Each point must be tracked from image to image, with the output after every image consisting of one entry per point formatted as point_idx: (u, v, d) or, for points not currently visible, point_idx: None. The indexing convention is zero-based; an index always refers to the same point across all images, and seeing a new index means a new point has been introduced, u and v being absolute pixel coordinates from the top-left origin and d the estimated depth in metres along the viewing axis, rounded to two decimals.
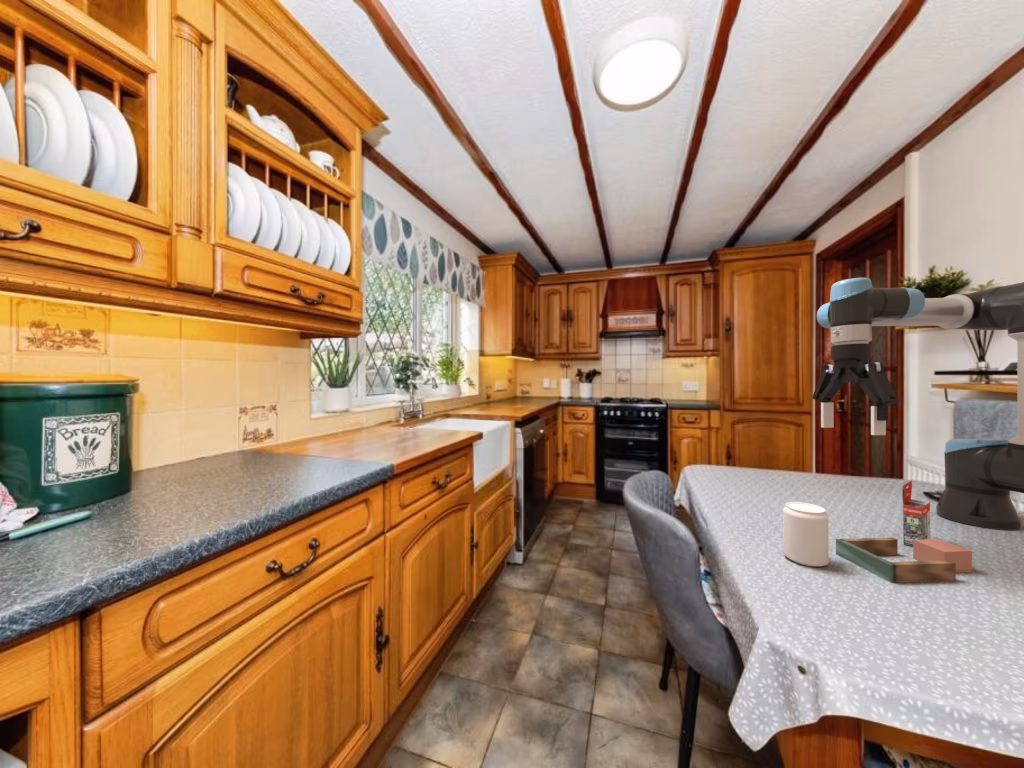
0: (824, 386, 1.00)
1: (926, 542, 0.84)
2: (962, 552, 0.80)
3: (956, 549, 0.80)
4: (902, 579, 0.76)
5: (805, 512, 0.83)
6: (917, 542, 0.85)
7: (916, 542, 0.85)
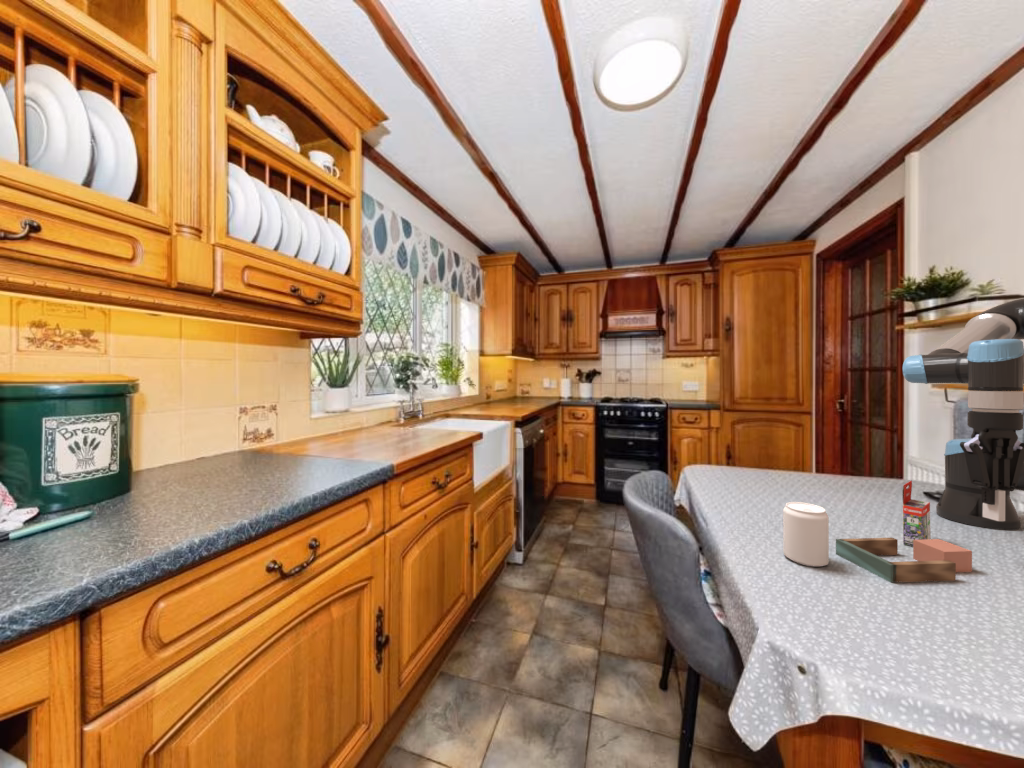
0: None
1: (926, 542, 0.84)
2: (962, 552, 0.80)
3: (956, 549, 0.80)
4: (902, 579, 0.76)
5: (805, 512, 0.83)
6: (917, 542, 0.85)
7: (916, 542, 0.85)
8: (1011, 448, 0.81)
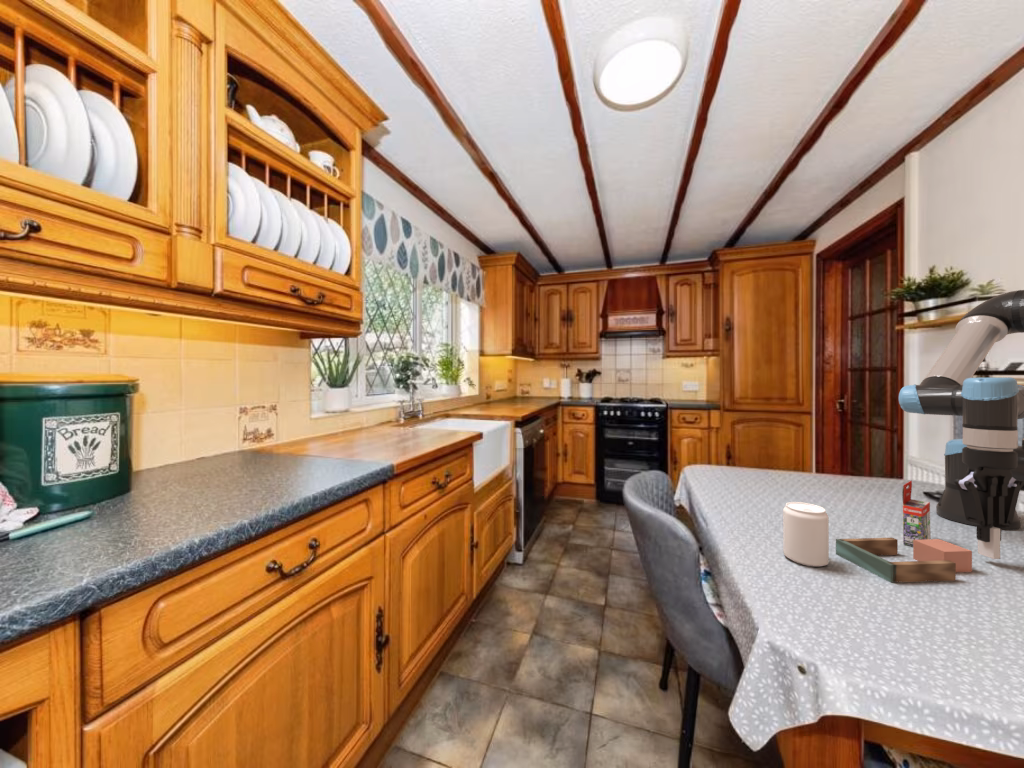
0: None
1: (926, 542, 0.84)
2: (962, 552, 0.80)
3: (956, 549, 0.80)
4: (902, 579, 0.76)
5: (805, 512, 0.83)
6: (917, 542, 0.85)
7: (916, 542, 0.85)
8: (1006, 486, 0.81)
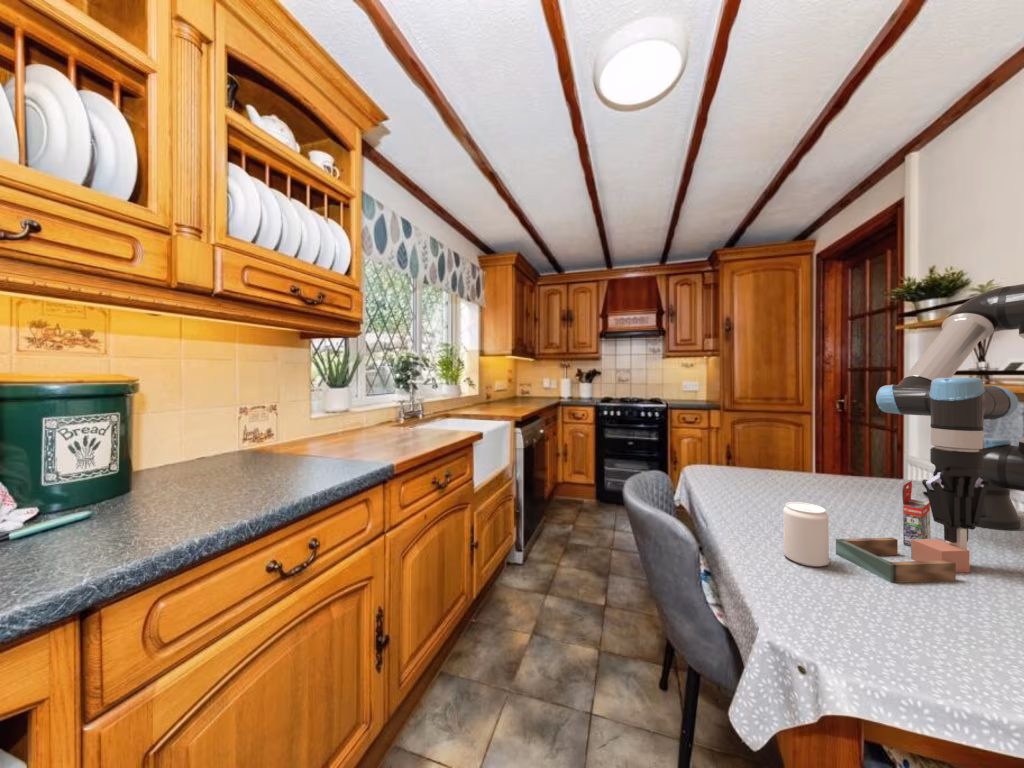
0: None
1: (924, 542, 0.84)
2: (959, 551, 0.80)
3: (954, 549, 0.80)
4: (902, 579, 0.76)
5: (805, 512, 0.83)
6: (915, 542, 0.85)
7: (914, 542, 0.85)
8: (972, 486, 0.81)
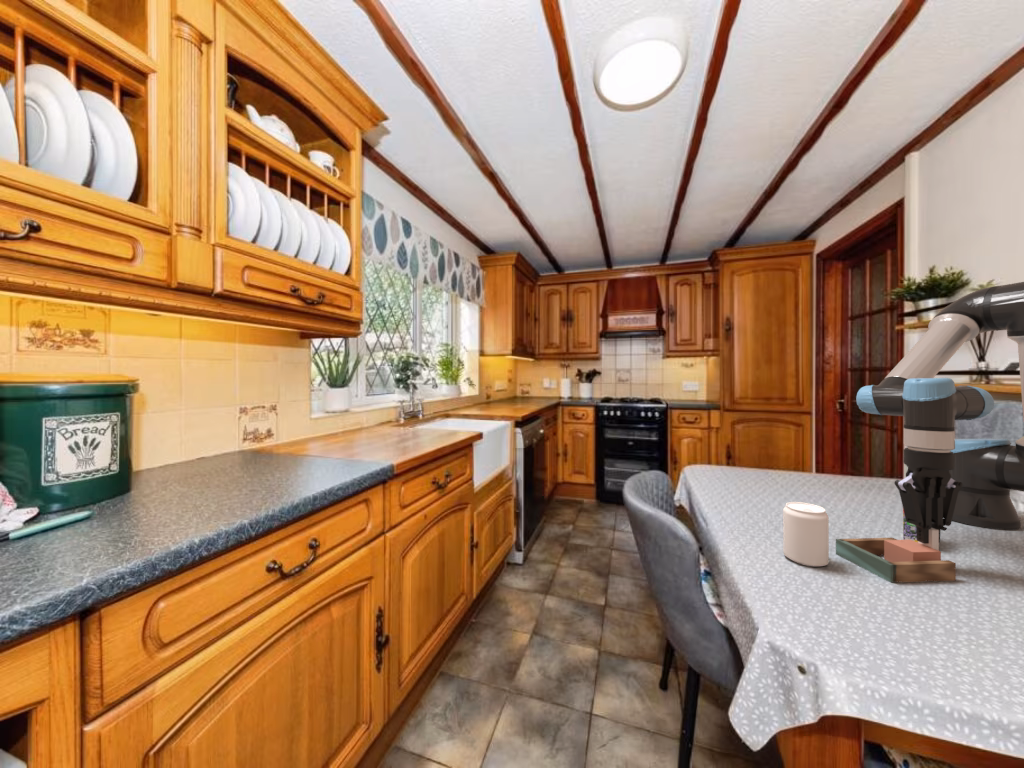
0: None
1: (896, 542, 0.84)
2: (931, 552, 0.80)
3: (925, 550, 0.80)
4: (902, 579, 0.76)
5: (805, 512, 0.83)
6: (888, 542, 0.84)
7: (887, 542, 0.85)
8: (944, 487, 0.81)
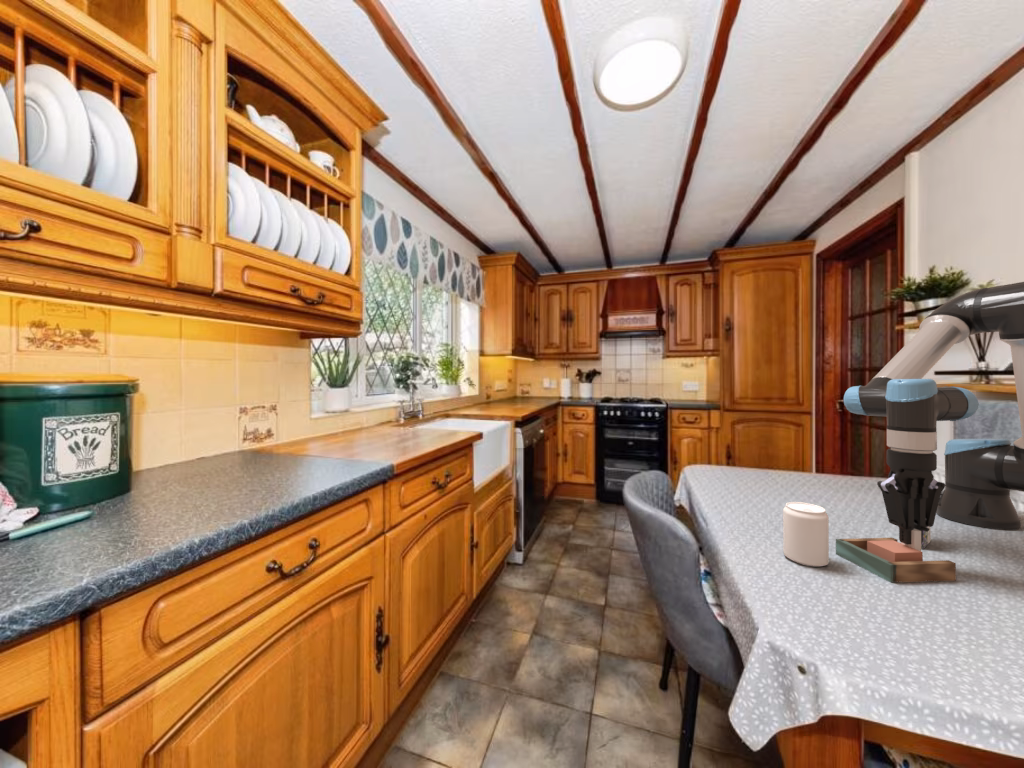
0: (924, 505, 0.83)
1: (879, 543, 0.84)
2: (912, 553, 0.79)
3: (907, 550, 0.80)
4: (902, 579, 0.76)
5: (805, 512, 0.83)
6: (870, 543, 0.84)
7: (870, 543, 0.85)
8: (926, 488, 0.81)
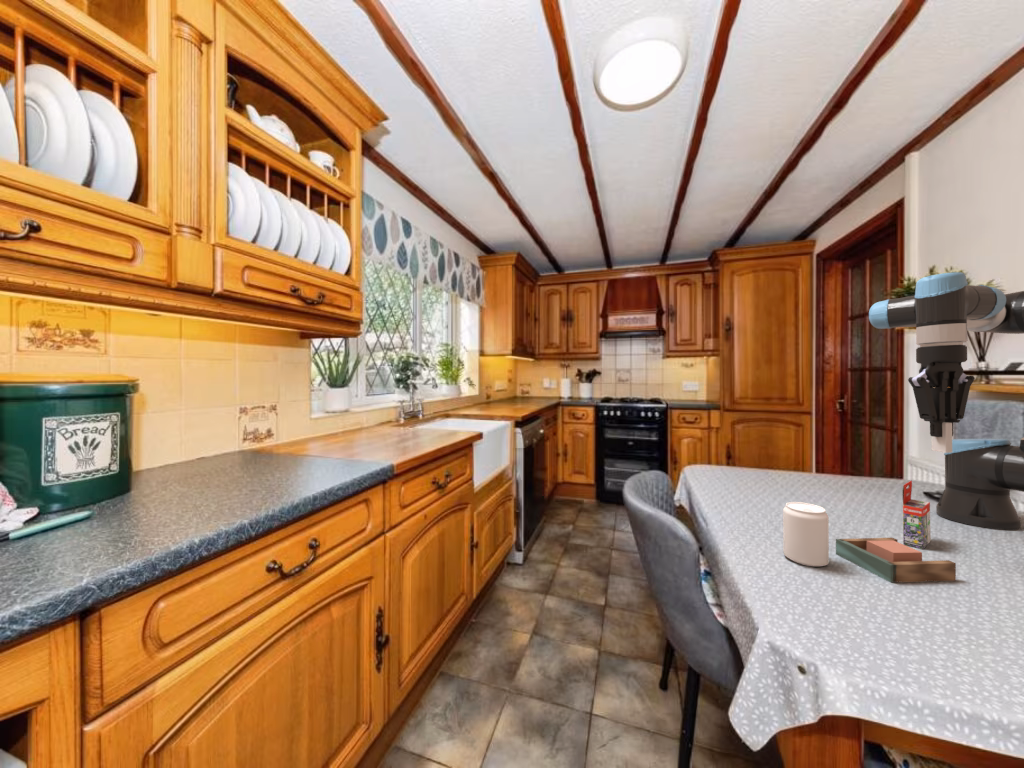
0: None
1: (878, 543, 0.84)
2: (912, 553, 0.79)
3: (906, 550, 0.80)
4: (902, 579, 0.76)
5: (805, 512, 0.83)
6: (870, 543, 0.85)
7: (869, 543, 0.85)
8: (957, 380, 0.83)
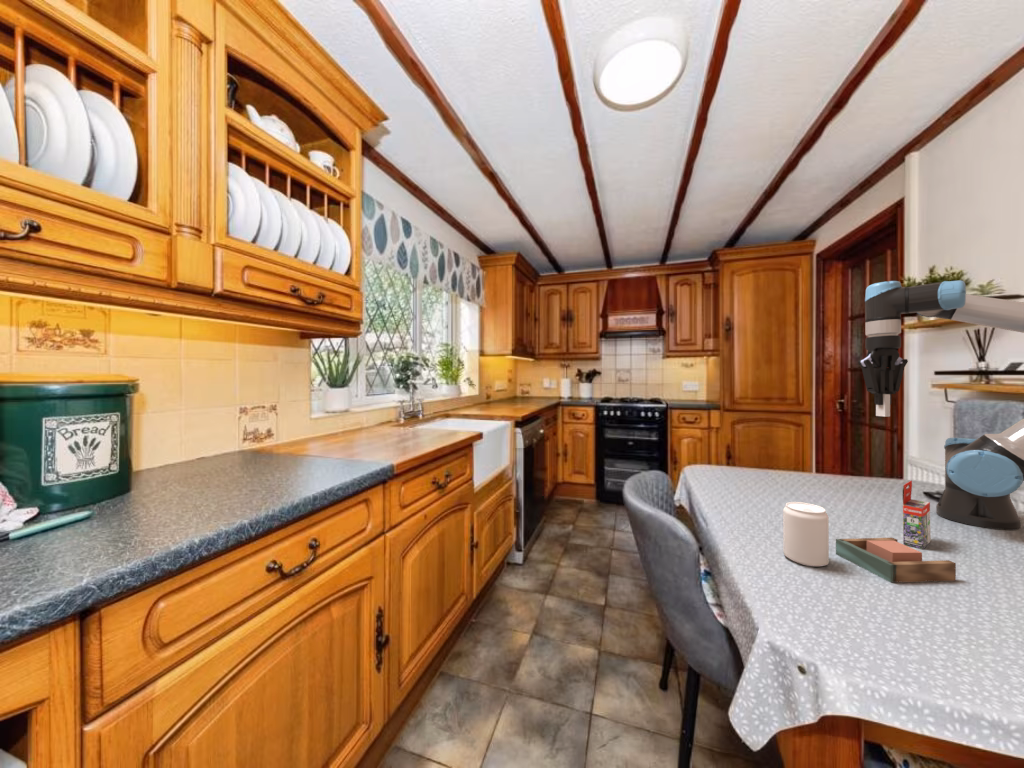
0: (893, 377, 1.12)
1: (878, 543, 0.84)
2: (911, 553, 0.79)
3: (906, 550, 0.80)
4: (902, 579, 0.76)
5: (805, 512, 0.83)
6: (870, 543, 0.85)
7: (869, 543, 0.85)
8: (893, 362, 1.10)
